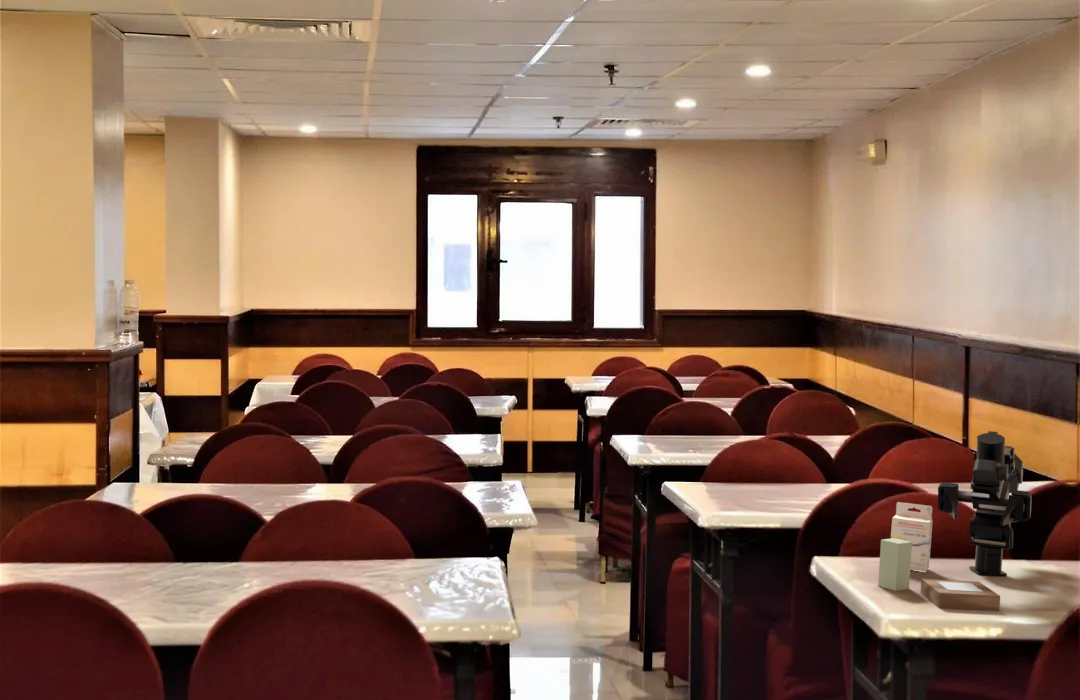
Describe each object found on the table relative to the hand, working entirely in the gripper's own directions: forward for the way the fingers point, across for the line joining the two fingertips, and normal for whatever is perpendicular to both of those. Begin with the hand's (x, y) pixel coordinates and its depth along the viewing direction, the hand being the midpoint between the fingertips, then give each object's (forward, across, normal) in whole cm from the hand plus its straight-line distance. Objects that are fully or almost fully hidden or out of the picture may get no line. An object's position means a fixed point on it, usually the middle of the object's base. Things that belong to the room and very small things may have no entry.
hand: (978, 520), depth 253 cm
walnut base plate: (+13, -2, +12) cm, 18 cm away
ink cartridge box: (-11, -16, +21) cm, 29 cm away
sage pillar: (+9, -16, +13) cm, 23 cm away
